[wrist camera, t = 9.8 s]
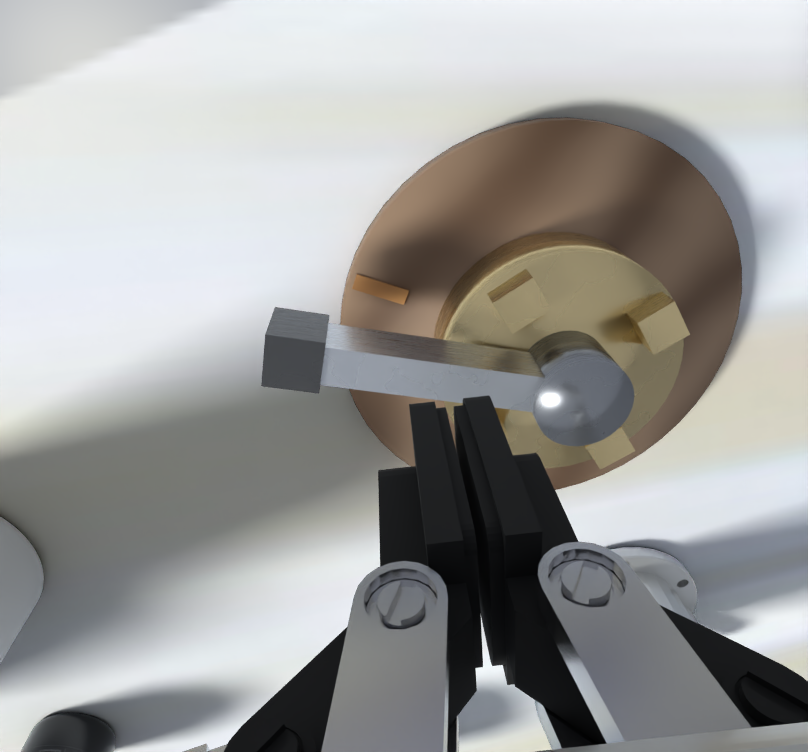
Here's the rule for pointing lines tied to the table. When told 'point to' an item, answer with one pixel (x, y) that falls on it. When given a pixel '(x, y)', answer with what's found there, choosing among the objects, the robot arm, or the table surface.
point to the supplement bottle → (70, 735)
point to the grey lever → (515, 348)
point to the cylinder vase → (16, 583)
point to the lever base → (539, 213)
